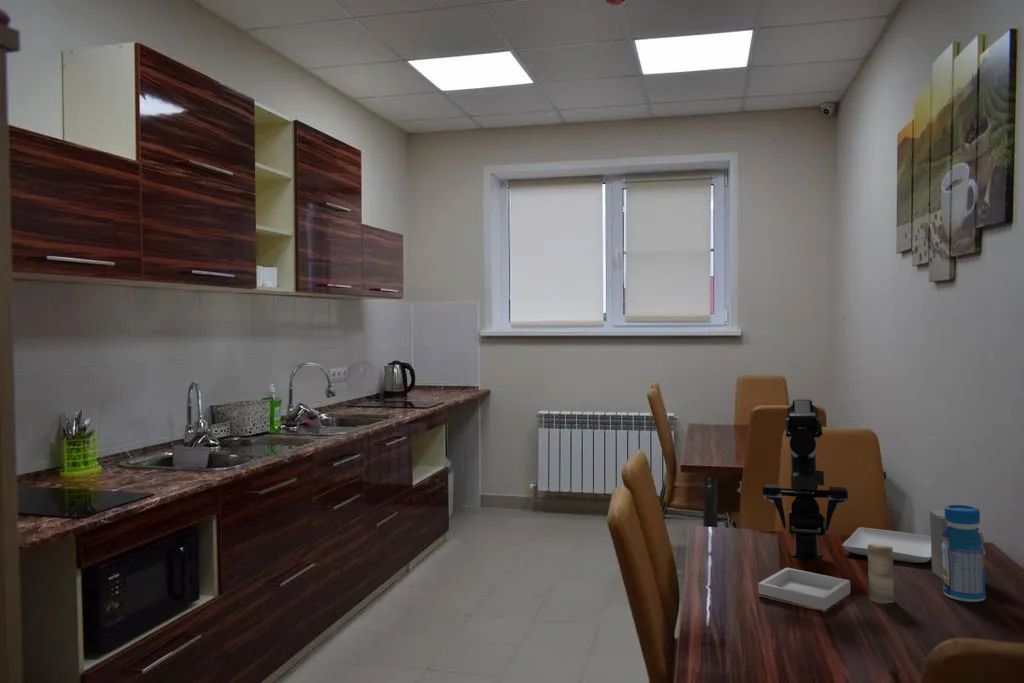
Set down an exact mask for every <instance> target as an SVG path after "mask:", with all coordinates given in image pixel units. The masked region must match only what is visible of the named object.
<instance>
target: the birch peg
mask: <svg viewBox="0 0 1024 683" xmlns="http://www.w3.org/2000/svg"><path fill="white" fill-rule="evenodd" d="M867 565H868V566H867V568H868V569H867V570H868V574H867V575H868V599H870V600H872V601H875V602H879V603H892V604H894V603H895V590H894V589H895V588H894V586H895V585H894V584H895V583H894V560H893V548H892V547H891V546H889V545H885V544H869V545H868V556H867ZM870 600H869V601H870ZM872 601H871V602H872ZM893 602H894V603H893Z"/></svg>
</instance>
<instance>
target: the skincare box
mask: <svg viewBox="0 0 1024 683" xmlns="http://www.w3.org/2000/svg"><path fill="white" fill-rule="evenodd" d="M929 523H930V525H929V527H930V530H929V531H930V536H931V555H932V557H931V572H932V573H933V574H934V575H936V576H937V577H938V578H939V577H940V579H941V580H942V581H944V577H943V553H942V550H941V545H942V543H943V539H942V532H943V530H944V528H945V527H946V525H947V524H948V522H946V520H945V510H930V511H929ZM976 526H977V527H978V525H976Z"/></svg>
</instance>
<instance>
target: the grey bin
mask: <svg viewBox="0 0 1024 683" xmlns="http://www.w3.org/2000/svg"><path fill="white" fill-rule="evenodd" d="M757 584H758V585H757V588H758V589H757V590H758V592H757V593H760V594H764V595H768V596H772V597H776V598H780V599H783V600H787V601H791V602H795V603H799V604H802V605H806V606H810V607H813V608H817V609H822V610H826V609H827V608H829V607H830V606H832V605H833V604H835V603H836V602H838V601H839V600H841V599H842V598H844V597H846V596H847V595H849V594H850V593H851V580H850V579H846V578H845V579H844V578H840V577H836V576H835V577H834V576H830V575H826V574H821V573H815V572H811V571H805V570H801V569H795V568H791V567H785V568H783V569H781V570H780V571H778V572H775V573H774V574H772V575H770V576H768V577H767V578H765V579H764V580H761V581H760V582H758V583H757ZM778 585H779V586H780V587H779V586H778ZM781 586H782V587H781ZM850 595H851V594H850ZM850 595H849V596H850ZM846 598H847V597H846Z"/></svg>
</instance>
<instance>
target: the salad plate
mask: <svg viewBox="0 0 1024 683" xmlns="http://www.w3.org/2000/svg"><path fill="white" fill-rule="evenodd" d="M869 544H885V545H889V546H891V547H892V548H893V561H899V562H904V563H906V562H907V563H914V564H915V563H916V564H917V563H919V564H921V563H923V564H924V563H927V562H929V561H930V560H932V555H931V535H925V534H917V533H910V532H904V531H896V530H895V531H894V530H886V529H878V528H870V527H862V526H861V527H858V528H856V530H855V531H854V532H853V533H852V534H851V535H850V537H849V538H848V539H846V540H845V541H844V542H843V544H842V548H844V549H845V550H846V551H848V553H849V552H850V553H851V554H856V555H859V556H863V555H865V557H868V545H869Z"/></svg>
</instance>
